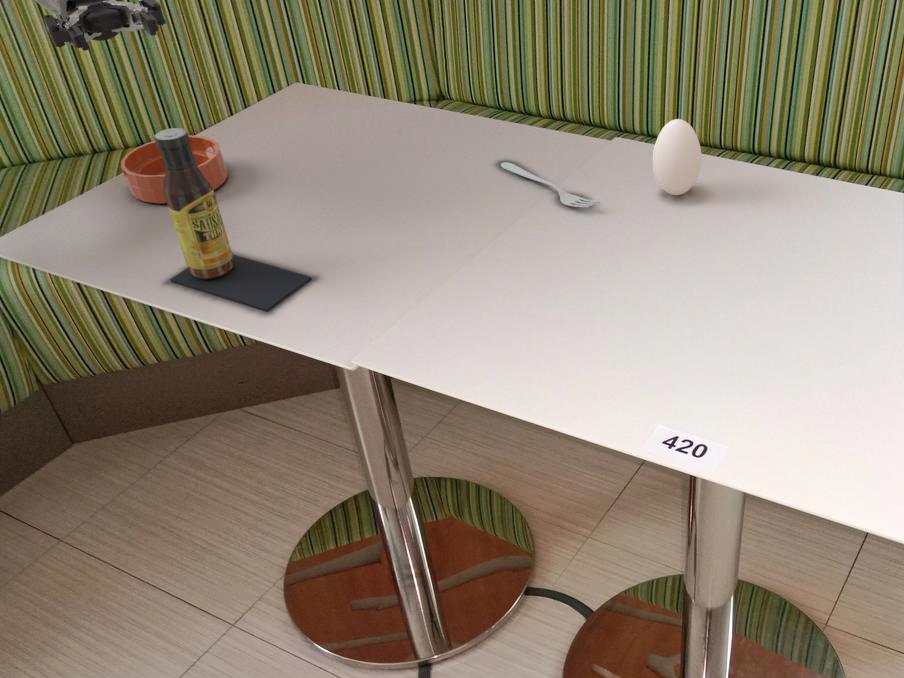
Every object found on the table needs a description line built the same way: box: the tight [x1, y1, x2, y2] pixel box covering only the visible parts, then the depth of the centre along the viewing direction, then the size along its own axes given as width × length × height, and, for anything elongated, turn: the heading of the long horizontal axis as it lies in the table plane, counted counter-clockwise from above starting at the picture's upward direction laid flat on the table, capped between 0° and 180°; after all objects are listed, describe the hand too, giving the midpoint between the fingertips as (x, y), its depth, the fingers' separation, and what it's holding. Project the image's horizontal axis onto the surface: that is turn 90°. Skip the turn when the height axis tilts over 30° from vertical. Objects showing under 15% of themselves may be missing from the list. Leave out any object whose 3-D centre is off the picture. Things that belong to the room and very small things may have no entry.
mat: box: [169, 253, 313, 313], centre depth 135 cm, size 18×9×1 cm, turn 62°
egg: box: [652, 118, 702, 196], centre depth 147 cm, size 7×7×12 cm
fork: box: [500, 161, 602, 208], centre depth 153 cm, size 3×24×2 cm, turn 40°
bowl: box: [120, 134, 229, 204], centre depth 157 cm, size 15×15×5 cm
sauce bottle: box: [154, 127, 234, 279], centre depth 131 cm, size 6×6×20 cm
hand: (118, 34), depth 124 cm, fingers open, 8 cm apart
